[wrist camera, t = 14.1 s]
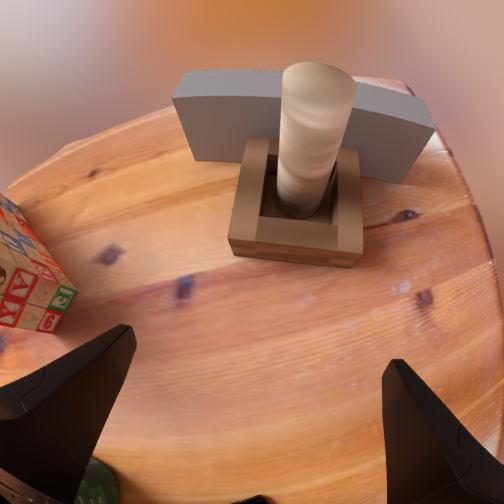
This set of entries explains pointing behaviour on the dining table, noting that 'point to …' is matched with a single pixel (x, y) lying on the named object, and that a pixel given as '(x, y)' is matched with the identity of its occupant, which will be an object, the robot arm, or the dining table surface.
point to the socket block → (293, 230)
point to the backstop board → (269, 117)
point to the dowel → (310, 133)
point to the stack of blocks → (29, 276)
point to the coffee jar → (96, 486)
